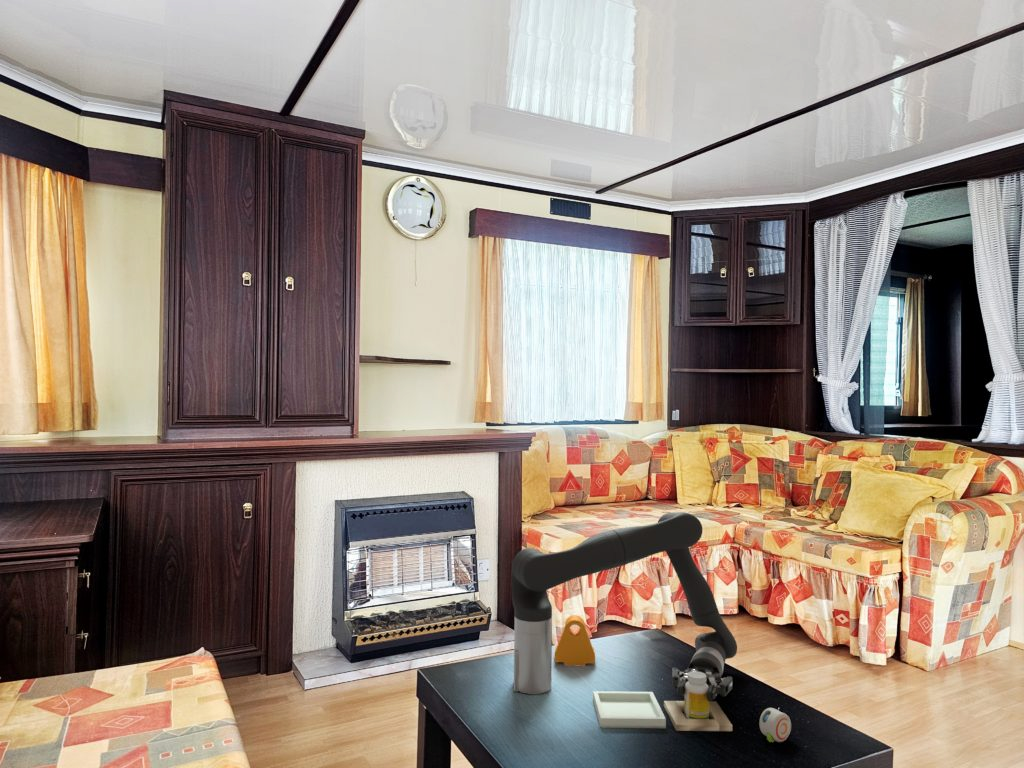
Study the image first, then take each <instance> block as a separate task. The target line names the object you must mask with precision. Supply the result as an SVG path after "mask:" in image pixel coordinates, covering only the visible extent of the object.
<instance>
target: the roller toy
mask: <svg viewBox="0 0 1024 768" xmlns="http://www.w3.org/2000/svg"><path fill="white" fill-rule="evenodd" d="M758 723H759V726H758V727H759V729H760V731H761V733H762V734H763V735H764V736H765V737H766V740H767V741H768V742H769V743H771V742H772V743H774V742H777V743H783V742H784V741H787V738H788V737H789V735H790V733H791V731H792V722H791V719H790V716H789V715H787V714H786V713H785V712H781V711H780V710H778V709H776V708H774V707H767V708H766V709H764V710H763V711H762V713H761V715H760V718H759V722H758Z"/></svg>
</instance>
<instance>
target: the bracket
mask: <svg viewBox="0 0 1024 768" xmlns="http://www.w3.org/2000/svg"><path fill="white" fill-rule="evenodd" d="M585 624H586V622H585V621H584V619H583V618H582V617H581V616H580V615H578V614H572V615H569V616H568V617H567V619H566V620H565V622H564V627H563V629H562V633H561V636H560V638H559V640H558V643H557V645H555V646H554V662H555V663H564V664H565V665H564V664H563V665H564V666H572V665H580V666H579V667H585V666H586V664H596V653H595V652H596V651H595V649H596V648H595V647H594V646H593V645H592V642H591V639H590V637H589V633H588V631H587V628H586V625H585ZM574 625H575V626H578V627H579V629H577V630H574V629H572V628H571V627H572V626H574ZM584 665H585V666H584Z"/></svg>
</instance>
